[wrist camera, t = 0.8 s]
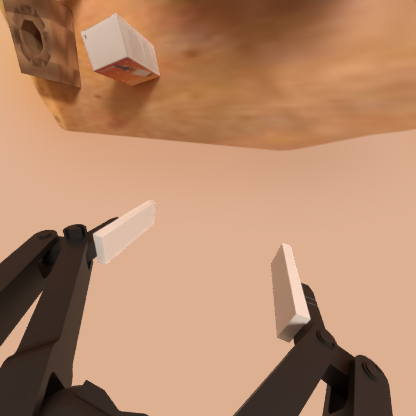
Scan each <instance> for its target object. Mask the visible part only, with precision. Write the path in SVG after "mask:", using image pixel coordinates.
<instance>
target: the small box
mask: <svg viewBox="0 0 416 416" xmlns="http://www.w3.org/2000/svg"><path fill="white" fill-rule="evenodd" d="M81 35H82V38H83V41H84V44H85V47H86V50H87V53H88V56H89V59H90V62H91V65H92V67H93V70H94V72H97V73H100V74H102V75H105V76H107V77H110V78H112V79H115V80H117V81H120V82H122V83H125V84H127V85H130V86H135V85H137V84H140V83H142V82H145V81H149V80H152V79H154V78H158V77H160V73H159V68H158V64H157V59H156V55H155V50H154V46H153V44H151V43H150V42H149V41H148V40H147V39H146V38H144V37H143V36H142V35H141V34H140V33H139V32H137V31H136V30H135V29H134V28H133V27H132V26H131V25H129V24H128V23H127V22H126V21H125V20H124V19H122V18H121V17H120V16H119V15H118V14H117V13H114V14H113V15H111V16H110V17H108V18H106V19H105V20H103V21H101V22H99V23H97V24H96V25H94V26H92V27H90V28H88V29H86V30H83V31H81Z"/></svg>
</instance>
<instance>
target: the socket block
mask: <svg viewBox="0 0 416 416" xmlns="http://www.w3.org/2000/svg"><path fill="white" fill-rule="evenodd" d="M3 4H4V8H5V11H6V15H7V19H8V23H9V27H10V31H11V35H12V38H13V42H14V46H15V50H16V54H17V58H18V62H19V66H20V69H21V73H24V74H29V75H32V76H36V77H40V78H44V79H48V80H52V81H56V82H60V83H64V84H68V85H71V86H75V87H79V88H81V82H80V74H79V66H78V58H77V50H76V41H75V33H74V25H73V17H72V11H71V10H69V9H68V8H66V7H65V6H63V5H62V4H60V3H59V2H57V1H55V0H3Z"/></svg>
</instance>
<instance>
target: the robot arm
mask: <svg viewBox="0 0 416 416" xmlns="http://www.w3.org/2000/svg"><path fill="white" fill-rule="evenodd" d="M154 223H155V201H152V200H148V201H146V202H145V203H143V204H141V205H140V206H138V207H136V208H135V209H133V210H132V211H130V212H128V213H126V214H125V215H123V216H122V217H120V218H118V217H115V218H112V219H110V220H108V221H106V222H105V223H103V224H101V225H99V226H98V227H96V228H94V229H92V230H91V231H89V232H87V229H86V226H84V225H82V224H75V225H71V226H68V227H66V228H64V230H63V233H64V237H61V236H58V235H57V232H56V231H54V230H44V231H41V232H38V233H36V234H34V235H33V236H32V237H31V238H30V239H28V240H27V241H26V242H25V243H24V244H23V245H21V246H20V247H19V248H18V249H17V250H16V251H14V252H13V253H12V254H11V255H10V256H8V257H7V258H6V259H5V260H4V261H2V262H1V263H0V346H1V345H2V343H3V342H4V341H5V340H6V338H7V337H8V335H9V334H10V333H11V332H12V330H13V329H14V328H15V326H16V325H17V324H18V322H19V321H20V320H21V318H22V317H23V316H24V314H25V313H26V312H27V310H28V309H29V308H30V306H31V305H32V304H33V302H34V301H35V300H36V299H37V297H38V296H39V294H40V293H41V292H42V291H43V292H42V294H41V297H40V299H39V301H38V304H37V306H36V308H35V310H34V313H33V315H32V317H31V319H30V322H29V324H28V326H27V329H26V331H25V333H24V336H23V338H22V340H21V342H20V345H19V347H18V349H17V351H16V353H15V354H14V355H12V356H10V357H8V358H7V359H6V360H5V361H4V362H3V364H2V366H1V368H0V416H148V415H146V414H142V413H132V412H122V411H119V410H118V409H117V407H116V406H115V404H114V403H113V402H112V400H111V399H110V397H109V396H108V395H107V393H106V392H105V390H103V389H101V388H100V387H98V386H96V385H94V384H93V383H91V382H89V381H87V380H86V381H85V382H84V384H83V385H77V386H72V387H71V385H72V377H73V372H72V367H73V366H72V365H73V360H74V355H75V350H76V345H77V340H78V335H79V330H80V325H81V320H82V315H83V310H84V305H85V300H86V295H87V290H88V285H89V280H90V275H91V270H92V265H93V259H94V258H95V257H96V256H97V259H98V262H100V263H102V264H104V265H107V264H108V263H109V262H110V261H111V260H112V259H114V258H115V257H116V256H117V255H118V254H119V253H121V252H122V251H123V250H124V249H125V248H126V247H128V246H129V245H130V244H131V243H132V242H133V241H135V240H136V239H137V238H138V237H139V236H140V235H142V234H143V233H144V232H145V231H146V230H147V229H148V228H150V227H151V226H152V225H153V224H154ZM271 270H272V282H273V294H274V305H275V317H276V329H277V338H279V339H282V340H284V341H286V342H290V341H291V340H292V339H293V338H294V344H295V346H294V347H293V348H292V349H291V350H290V351H289V352H288V354H287V355H286V356H285V357H284V358H283V360H282V361H281V362H280V363H279V364H278V365H277V366H276V367H275V369H274V370H273V371H272V372H271V373H270V374H269V375H268V377H267V378H266V379H265V380H264V381H263V382H262V384H261V385H260V386H259V387H258V388H257V389H256V390H255V391H254V393H253V394H252V395H251V396H250V397H249V398H248V399H247V401H246V402H245V403H244V404H243V405H242V406H241V407H240V408H239V410H238V411H237V412H236V413H235V414H234V415H233V416H298V415H299V414H300V412H301V411H302V409H303V407H304V406H305V404H306V402H307V401H308V399H309V397H310V396H311V394H312V392H313V391H314V389H315V388H316V386H317V384H318V383H319V381H320V379H322V380H323V381H324V382H326V383H327V389H326V396H325V402H324V409H323V415H322V416H393V414H392V405H391V397H390V389H389V383H388V380H387V378H386V376H385V375H384V373H383V372H382V370H381V369H380V368H379V367H378V366H377V365H376V364H375V363H374V362H373V361H372V360H370V359H369V358H367V357H366V356H363V355H357V356H356V357H353V356H352V355H350V354H349V353H348V352H346V351H345V350H344V349H342V348H341V347H339V346H338V345H337V343H336V341H335V339H334V337H333V336H332V335H331V334H330V333H329V332H328V331H327V330H326V329H325V326H324V323H323V320H322V317H321V315H320V311H319V309H318V307H317V302H316V301H315V296H314V293H313V292H312V290H311V289H310V287H309V286H308V285H305V284H302V283H301V282H300V279H299V275H298V271H297V267H296V264H295V260H294V256H293V252H292V249H291V246H289V245H287V244H284V243H282V244H281V246H280V248H279V250H278V252H277V254H276V256H275V258H274V260H273V261H272V263H271ZM43 289H44V290H43Z"/></svg>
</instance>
